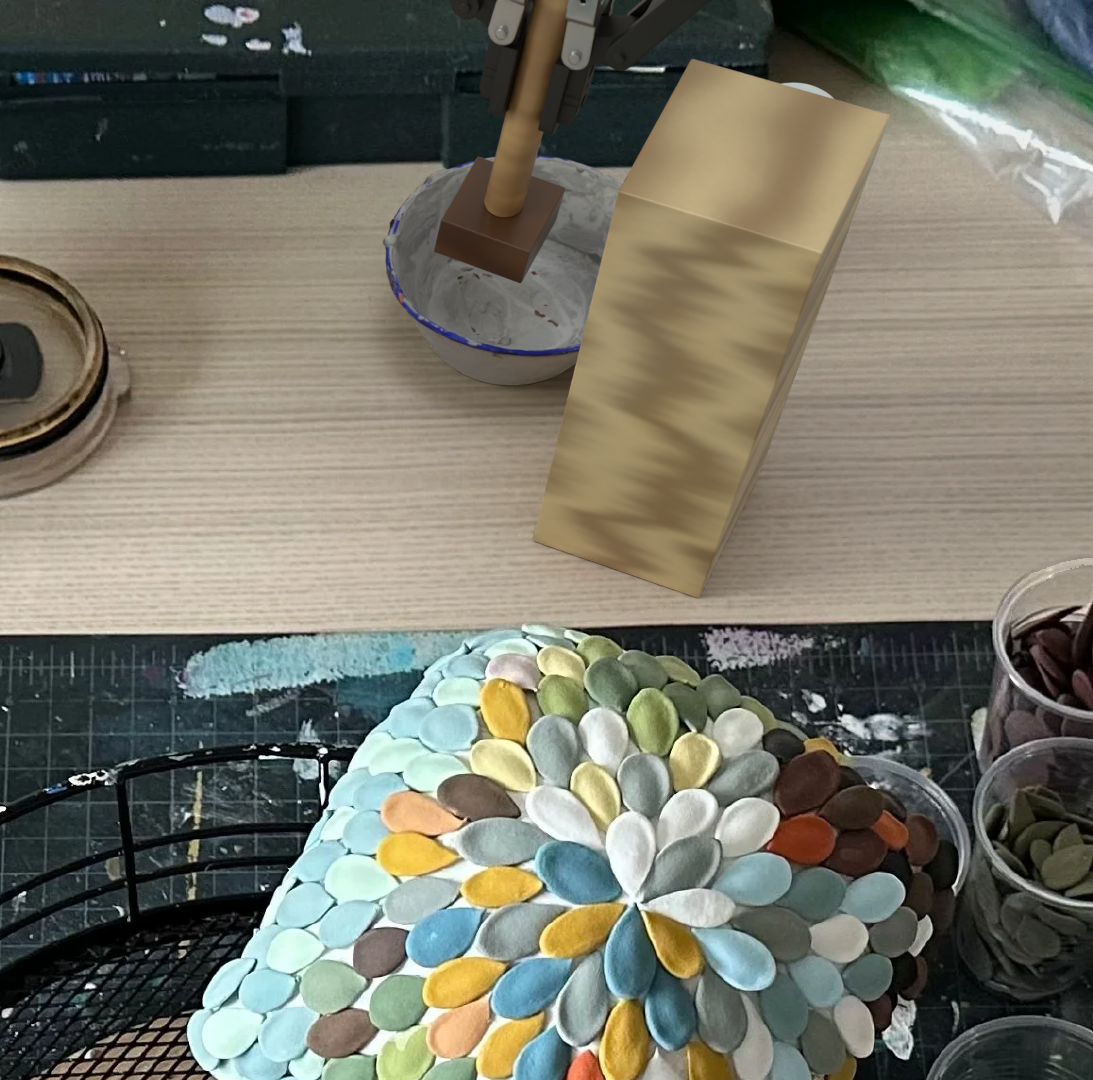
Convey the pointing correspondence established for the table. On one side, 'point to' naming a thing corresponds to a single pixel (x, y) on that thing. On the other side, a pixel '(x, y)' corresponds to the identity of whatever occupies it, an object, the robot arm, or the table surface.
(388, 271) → the bowl
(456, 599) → the table surface
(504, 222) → the wooden stamp
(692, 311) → the stand
